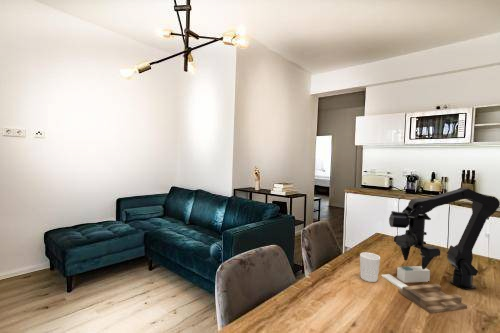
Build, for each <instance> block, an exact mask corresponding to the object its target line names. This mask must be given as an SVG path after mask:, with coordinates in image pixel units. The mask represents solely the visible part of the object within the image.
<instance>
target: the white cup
mask: <svg viewBox="0 0 500 333" xmlns="http://www.w3.org/2000/svg"><path fill="white" fill-rule="evenodd" d="M380 262H381V256H380V255H378V254H375V253H374V252H373V253H372V252H366V251H365V252H361V253H359V271H360V272H359V273H360V279H361V280H362V281H363V280H364V281H365V282H369V283H375V282H377V281H378V277H379V273H380V264H381V263H380Z"/></svg>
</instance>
